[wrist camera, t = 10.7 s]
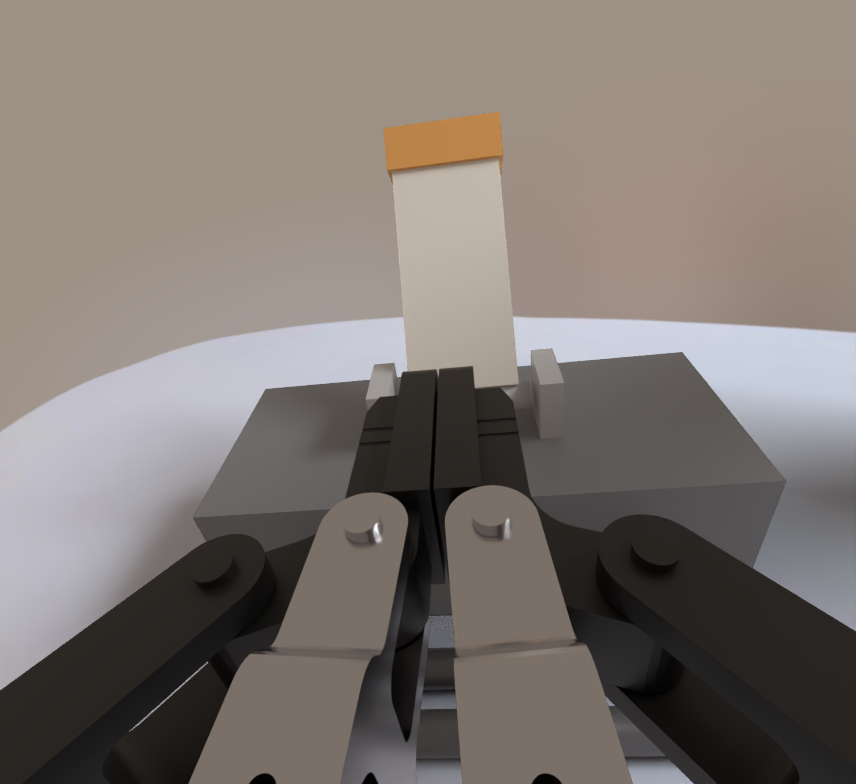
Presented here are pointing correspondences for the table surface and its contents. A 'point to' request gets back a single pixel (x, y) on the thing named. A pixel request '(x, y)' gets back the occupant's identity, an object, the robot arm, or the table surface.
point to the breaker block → (545, 467)
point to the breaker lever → (454, 249)
